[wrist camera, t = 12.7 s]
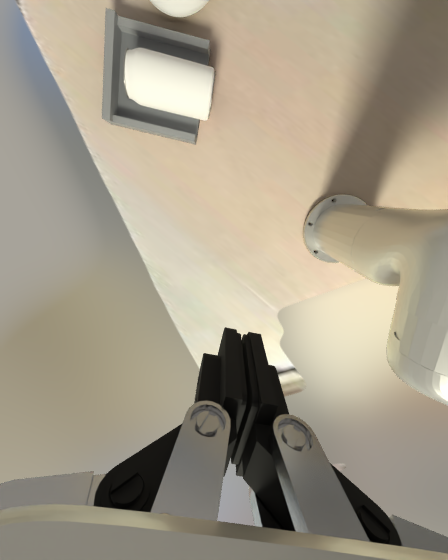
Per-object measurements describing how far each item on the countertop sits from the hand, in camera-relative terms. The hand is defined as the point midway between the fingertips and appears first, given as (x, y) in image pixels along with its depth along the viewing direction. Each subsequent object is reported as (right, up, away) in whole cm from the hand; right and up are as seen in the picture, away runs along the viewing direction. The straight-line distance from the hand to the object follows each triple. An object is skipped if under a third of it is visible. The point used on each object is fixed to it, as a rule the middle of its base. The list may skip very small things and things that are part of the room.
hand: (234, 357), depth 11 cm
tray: (-10, +34, +27) cm, 45 cm away
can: (-2, +31, +25) cm, 40 cm away
